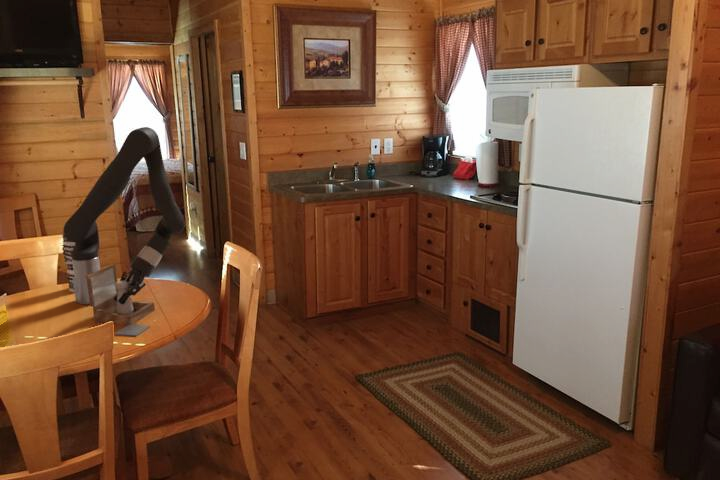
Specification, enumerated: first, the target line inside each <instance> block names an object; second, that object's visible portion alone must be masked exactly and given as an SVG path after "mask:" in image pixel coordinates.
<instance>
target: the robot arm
mask: <svg viewBox="0 0 720 480" xmlns="http://www.w3.org/2000/svg"><path fill="white" fill-rule="evenodd" d="M126 136H127V137H126V138H125V140H124V141H123V143H122V145H121V147H120V149H119V151H118V152H117V155H116V156H115V157H114V159H113V160H112V161H111V162H110V163H109V165H108V166H107V167H106V168H105V170H104V171H103V172H102V173H101V175H100V177H99V178H98V179H97V181H96V182H95V183H94V185H93V187H92V188H91V189H90V191H89V193H88V194H87V195H86V197H85V199H84V200H83V202H82V203H81V205H80V206H79V207H78V209H77V210H75V211H74V212H73V214H72V215H70V217H69V218H68V219H67V221H65V223H64V225H63V230H62V231H63V232H64V236H65V237H66V239H67V240H68V241H70V242H75V247H74V249H73V250H72V253H71V256H72V262H73V269H74V276H75V278H73V285H74V292H73V293H74V297H75V303H78V304H81V305H90V299H89V292H88V285H87V278H86V276H87V275H89V274H92V273H94V272H96V271H98V270H100V269H101V264H100V257H99V249H100V239H99V238H100V235H99V228H98V224H97V220H98V218H99V217H100V216H101V215H102V214H103V213H105V211H107V210H108V209H109V208H110V207H111V206H112V205H114V203H115V202H116V201H117V200H118V199H119V198H120V196H121V195H122V193H124V191H125V190H126V188H127V186H128V185H129V181H130V178H131V176H132V173H133V171H134V169H135V168H136V167H137V166H138V164H139V163H140V162H141V160H142V159H144V161H145V164H146V167H147V175H148V184H149V185H148V186H149V189H150V193H151V194H150V195H151V197H152V199H153V202H154V205H155V207H156V209H157V210H158V211H160V213H161V215H162V217H161V219H160V220H159V221H158V223H157V225H156V227H155V229H154V232H153V234H152V236H151V237H150V238H149V240H148V241H147V243H146V244H145V245H144V247H143V248H141V250H140V251H139V253H138V254H137V256H136V257H135V258H134V260H133V261H132V263H130V268H131V270H130V271H129V272H128V273H127V274H126V273H122V275H121V277H120V280H119V281H127V282H128V285H127V286H128V287H127V289H126V290H125V293H123V295H122V296H121V297H120V299H119V300H118V302H119V303H120V304H122V305H123V304H124V303H125V302H126V300H127V299H128V298H129V296H130V297H131V296H133V297H134V296H136V295H137V294H138V293H139V292H140V291H141V290H142V289H143V288H145V286H146V285H147V284H146V283H145V282H144V280H145V278H149V277H151V274H153V272H154V270H155V268H156V267H157V266H158V264H159V263H160V261H161V259H162V258H163V256H164V254H165V253H166V252H167V250H168V249H169V247H170V244H171V243H170V240H171V238H172V237H173V235H178V234H180V233H182V232H183V231H184V230H185V225H186V222H185V218H184V215H183V214H182V212H181V210H180V208H179V206H178V205H177V203H176V201H175V197H174V194H173V191H172V188H171V185H170V181H169V179H168V176H167V172H166V169H165V164H164V159H163V155H162V149H161V148H162V147H161V142H160V137H159V135H158V133H157V132H156V130H154V129H153V128H151V127H148V126H144V127H139V128H136V129H134V130H131V132H129V134H128V135H126ZM63 232H62V233H63ZM114 300H115V301H116V302H117V294H116V296H115V297H114Z"/></svg>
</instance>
